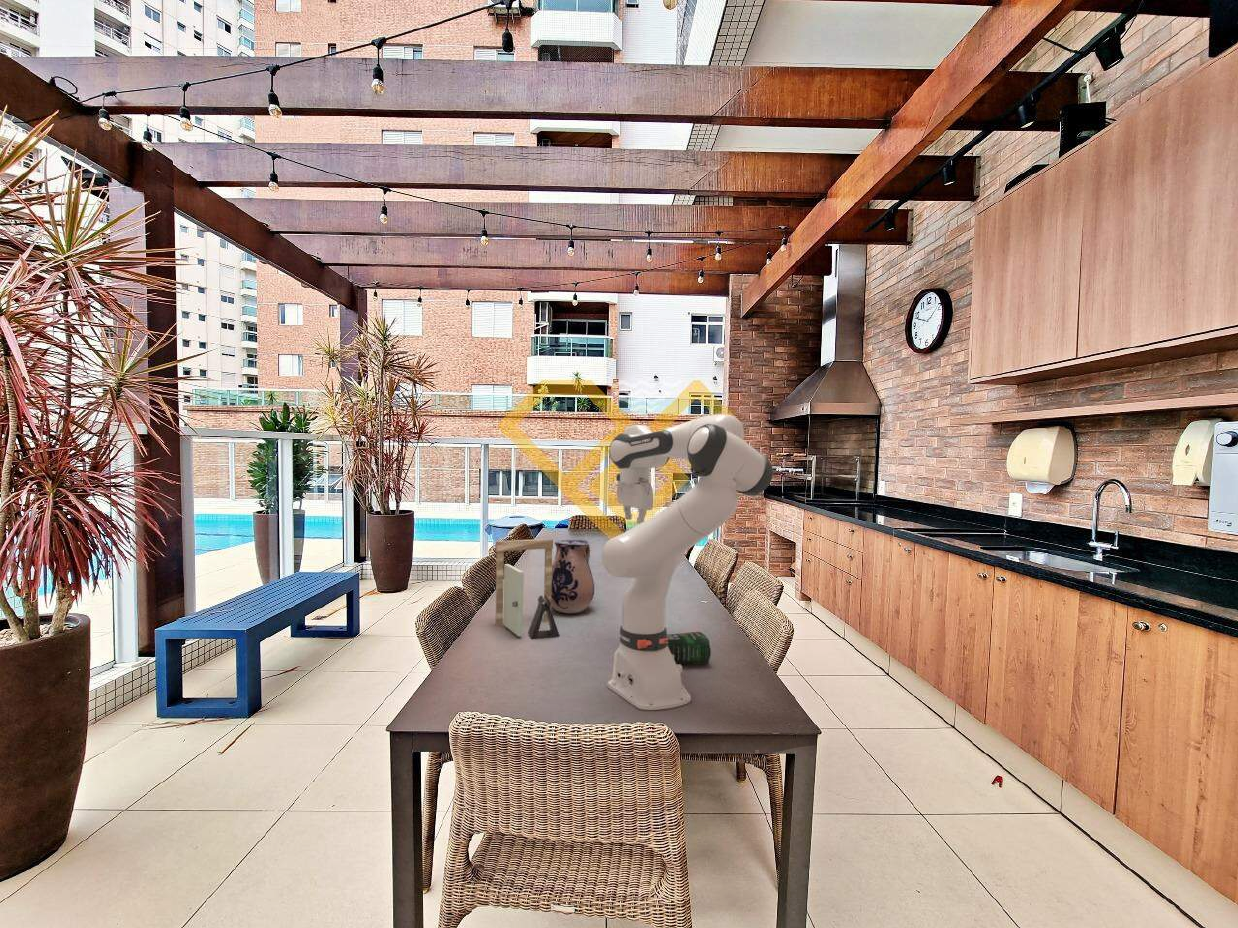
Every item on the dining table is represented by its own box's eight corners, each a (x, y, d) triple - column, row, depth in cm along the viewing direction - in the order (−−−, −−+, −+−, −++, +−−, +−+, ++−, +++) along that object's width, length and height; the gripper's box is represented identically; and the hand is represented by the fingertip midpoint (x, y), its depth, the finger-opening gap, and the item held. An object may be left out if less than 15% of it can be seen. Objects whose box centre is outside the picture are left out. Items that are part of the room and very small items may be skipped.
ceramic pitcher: (538, 614, 199) (539, 544, 198) (561, 599, 219) (562, 535, 218) (584, 620, 194) (585, 548, 193) (603, 603, 214) (605, 538, 213)
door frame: (551, 620, 192) (553, 539, 191) (495, 626, 185) (497, 542, 184) (549, 618, 194) (551, 538, 193) (494, 624, 187) (495, 540, 186)
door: (514, 637, 173) (515, 572, 172) (499, 624, 184) (500, 564, 183) (522, 635, 174) (523, 571, 173) (507, 623, 185) (508, 563, 185)
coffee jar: (712, 638, 154) (647, 643, 150) (711, 667, 154) (647, 672, 150) (699, 627, 163) (637, 631, 159) (698, 654, 164) (637, 659, 159)
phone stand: (555, 630, 182) (556, 594, 182) (559, 636, 176) (560, 599, 176) (528, 633, 179) (528, 595, 179) (531, 639, 173) (531, 600, 173)
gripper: (659, 479, 165) (658, 525, 165) (631, 475, 184) (630, 517, 184) (639, 479, 163) (638, 526, 163) (613, 475, 181) (612, 517, 182)
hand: (634, 521), depth 174 cm, fingers open, 8 cm apart
